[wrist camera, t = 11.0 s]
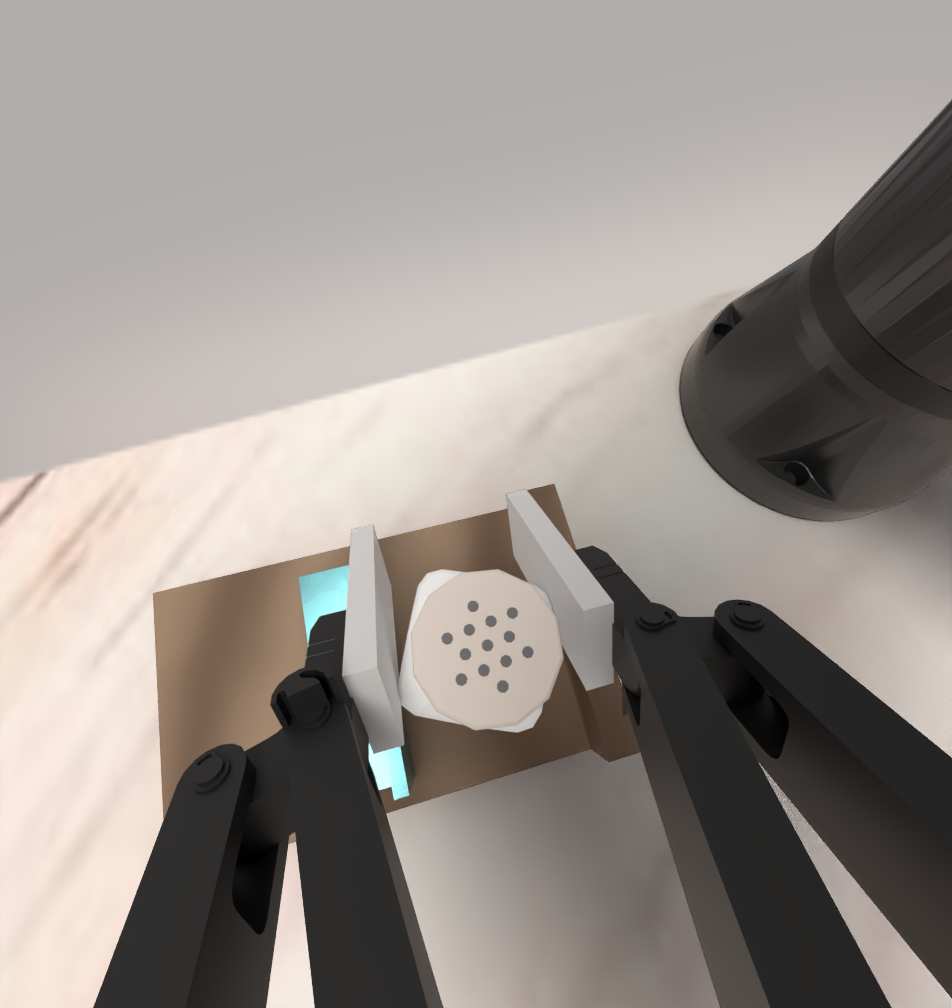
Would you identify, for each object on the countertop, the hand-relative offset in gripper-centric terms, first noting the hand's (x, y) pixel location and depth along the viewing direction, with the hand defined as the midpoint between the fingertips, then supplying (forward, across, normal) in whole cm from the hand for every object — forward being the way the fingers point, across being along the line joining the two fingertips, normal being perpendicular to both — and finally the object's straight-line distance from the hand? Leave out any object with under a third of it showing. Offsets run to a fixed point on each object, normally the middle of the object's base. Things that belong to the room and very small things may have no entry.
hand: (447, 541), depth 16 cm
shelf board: (+3, -4, -8) cm, 10 cm away
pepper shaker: (0, 0, -5) cm, 5 cm away
